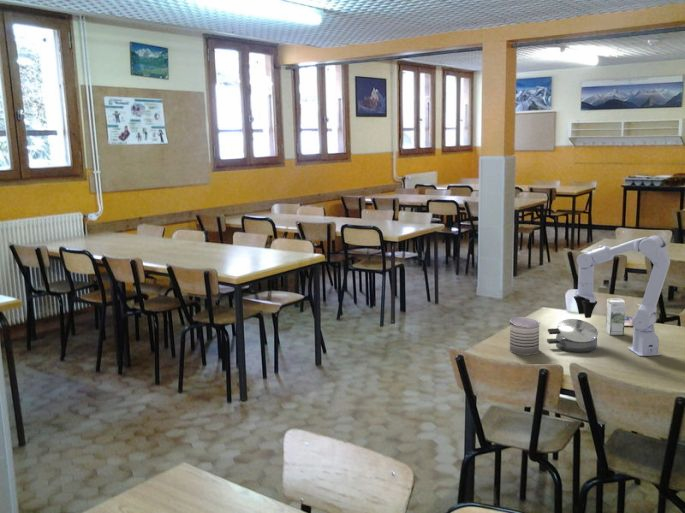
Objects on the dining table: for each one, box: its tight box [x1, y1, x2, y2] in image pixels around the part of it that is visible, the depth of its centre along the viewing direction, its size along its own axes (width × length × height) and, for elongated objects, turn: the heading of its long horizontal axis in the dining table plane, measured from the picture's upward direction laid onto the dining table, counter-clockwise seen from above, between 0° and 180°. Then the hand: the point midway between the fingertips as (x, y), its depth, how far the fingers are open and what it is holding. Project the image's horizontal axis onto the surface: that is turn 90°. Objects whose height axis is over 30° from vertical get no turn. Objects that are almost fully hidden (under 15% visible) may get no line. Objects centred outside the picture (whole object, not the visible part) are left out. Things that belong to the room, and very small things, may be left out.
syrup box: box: [605, 298, 626, 336], centre depth 268 cm, size 6×6×14 cm
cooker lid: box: [547, 318, 599, 343], centre depth 253 cm, size 15×19×1 cm
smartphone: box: [624, 316, 634, 328], centre depth 285 cm, size 7×1×15 cm
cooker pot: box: [546, 334, 598, 354], centre depth 254 cm, size 15×19×4 cm
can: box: [508, 316, 541, 356], centre depth 252 cm, size 11×11×12 cm
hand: (584, 315), depth 260 cm, fingers open, 5 cm apart
